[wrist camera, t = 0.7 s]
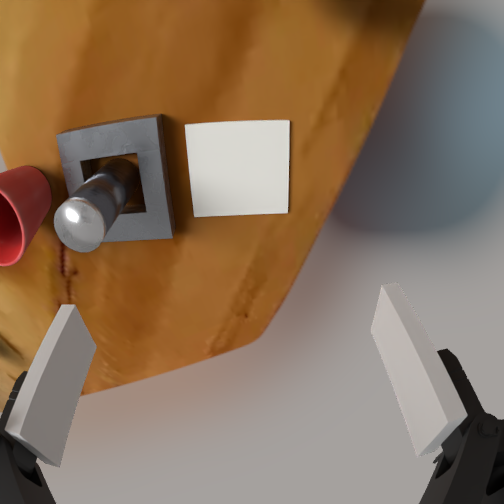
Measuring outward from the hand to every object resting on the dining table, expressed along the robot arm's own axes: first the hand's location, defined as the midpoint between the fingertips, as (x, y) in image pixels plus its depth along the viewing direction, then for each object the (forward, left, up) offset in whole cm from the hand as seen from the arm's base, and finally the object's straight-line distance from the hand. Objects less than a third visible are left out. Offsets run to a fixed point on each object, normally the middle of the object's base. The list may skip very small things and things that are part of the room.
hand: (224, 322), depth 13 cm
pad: (+2, +1, -25) cm, 25 cm away
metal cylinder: (+2, -13, -25) cm, 28 cm away
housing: (+2, -13, -25) cm, 28 cm away
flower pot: (+2, -27, -25) cm, 37 cm away
